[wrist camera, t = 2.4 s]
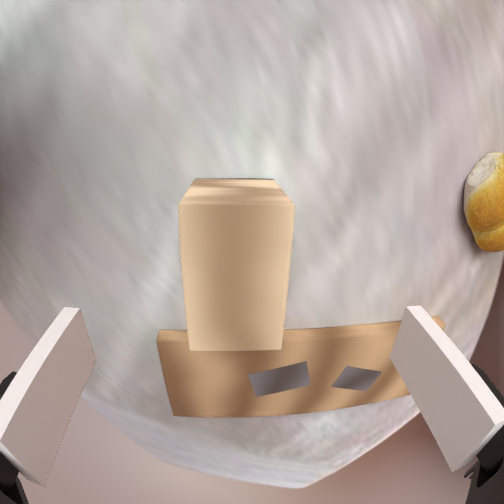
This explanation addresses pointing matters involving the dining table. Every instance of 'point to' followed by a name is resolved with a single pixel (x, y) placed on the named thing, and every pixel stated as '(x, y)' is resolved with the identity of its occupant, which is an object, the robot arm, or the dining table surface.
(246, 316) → the block
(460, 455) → the robot arm
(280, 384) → the oak plank
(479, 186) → the bread roll
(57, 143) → the dining table surface
